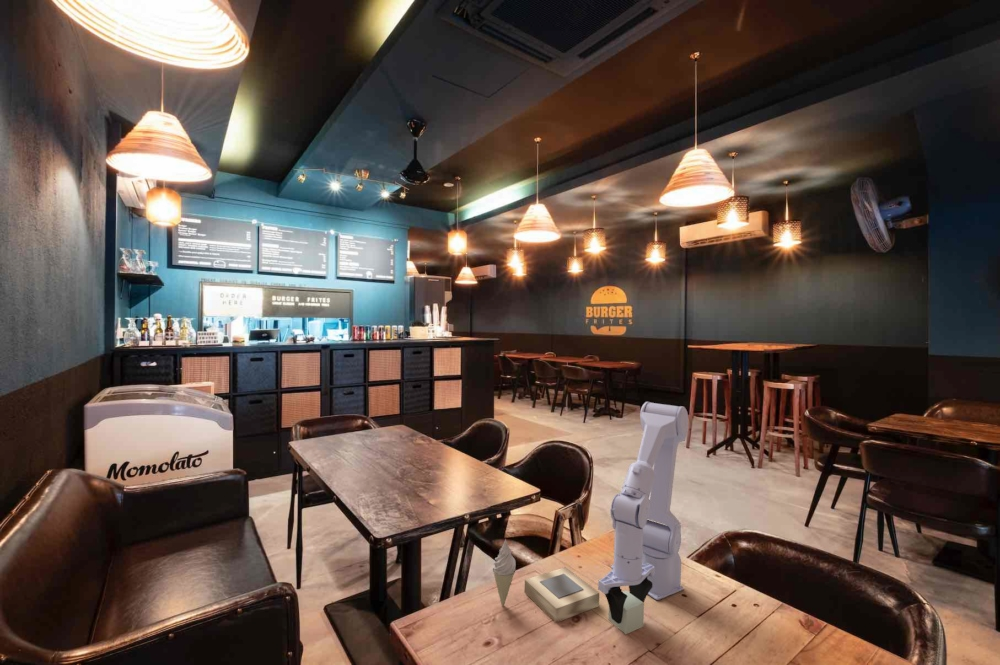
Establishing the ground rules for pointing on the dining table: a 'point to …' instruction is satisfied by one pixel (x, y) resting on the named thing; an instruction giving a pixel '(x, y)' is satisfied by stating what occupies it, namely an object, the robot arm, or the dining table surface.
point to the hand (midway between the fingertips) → (625, 616)
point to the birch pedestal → (561, 594)
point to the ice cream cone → (504, 571)
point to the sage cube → (630, 614)
